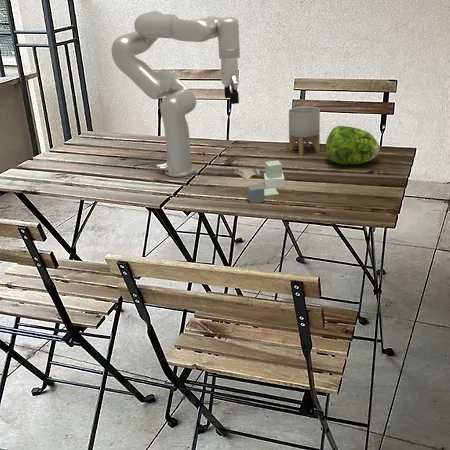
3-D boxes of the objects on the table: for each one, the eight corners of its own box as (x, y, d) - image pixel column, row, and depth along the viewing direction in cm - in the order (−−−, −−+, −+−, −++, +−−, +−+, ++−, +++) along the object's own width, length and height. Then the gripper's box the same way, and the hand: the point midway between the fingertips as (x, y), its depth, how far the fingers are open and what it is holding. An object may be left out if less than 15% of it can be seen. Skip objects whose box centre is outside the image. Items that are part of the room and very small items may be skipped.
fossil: (249, 181, 242) (248, 173, 241) (231, 174, 250) (231, 166, 249) (262, 177, 246) (262, 168, 245) (244, 170, 254) (244, 162, 252)
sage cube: (269, 179, 232) (268, 166, 230) (265, 174, 236) (265, 161, 234) (282, 177, 233) (281, 164, 231) (278, 172, 237) (278, 160, 235)
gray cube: (250, 203, 221) (250, 190, 219) (247, 198, 226) (247, 185, 224) (264, 201, 222) (264, 188, 220) (261, 196, 227) (260, 183, 225)
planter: (285, 154, 268) (285, 113, 260) (293, 145, 279) (293, 106, 271) (315, 156, 264) (315, 114, 256) (322, 147, 274) (322, 106, 267)
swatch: (262, 196, 226) (262, 195, 226) (258, 190, 232) (258, 189, 231) (278, 194, 227) (278, 193, 227) (274, 188, 232) (274, 187, 232)
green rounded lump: (377, 176, 246) (390, 138, 242) (326, 162, 244) (338, 124, 240) (366, 168, 262) (378, 132, 258) (318, 155, 259) (330, 119, 255)
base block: (265, 189, 233) (265, 179, 231) (264, 183, 239) (263, 173, 238) (284, 188, 233) (284, 178, 231) (282, 181, 239) (282, 172, 238)
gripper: (214, 50, 234) (217, 96, 241) (223, 58, 218) (226, 107, 225) (234, 49, 235) (236, 94, 242) (244, 56, 219) (246, 104, 226)
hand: (231, 100), depth 233 cm, fingers open, 9 cm apart
